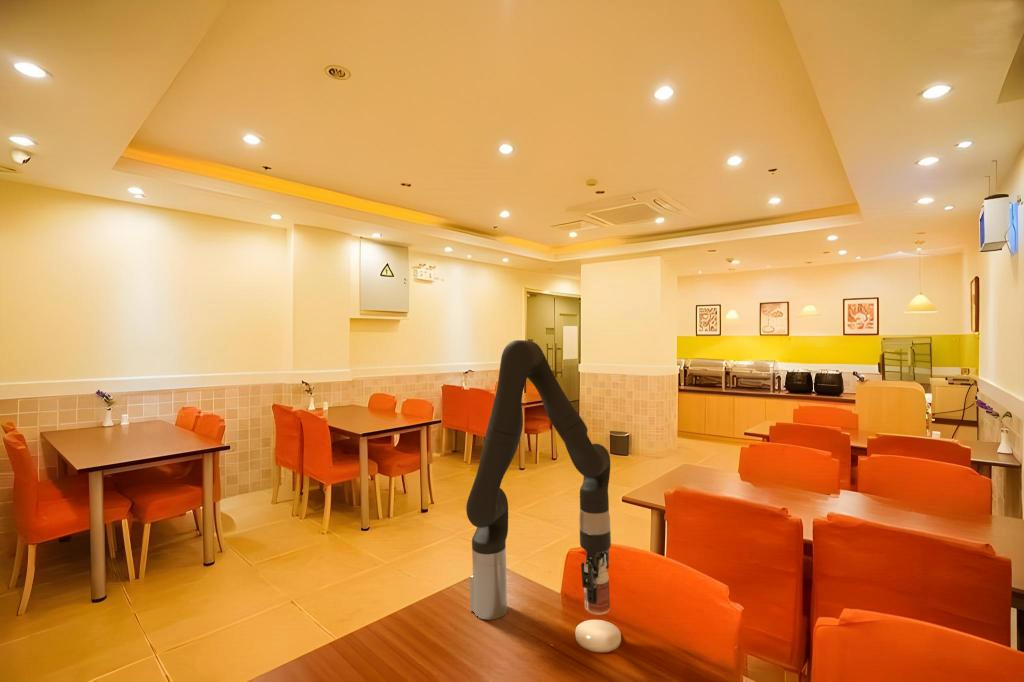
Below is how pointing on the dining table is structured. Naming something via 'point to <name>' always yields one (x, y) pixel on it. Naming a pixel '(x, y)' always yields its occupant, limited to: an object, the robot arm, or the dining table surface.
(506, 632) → the dining table surface
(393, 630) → the dining table surface
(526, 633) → the dining table surface
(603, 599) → the pill bottle
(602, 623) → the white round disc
